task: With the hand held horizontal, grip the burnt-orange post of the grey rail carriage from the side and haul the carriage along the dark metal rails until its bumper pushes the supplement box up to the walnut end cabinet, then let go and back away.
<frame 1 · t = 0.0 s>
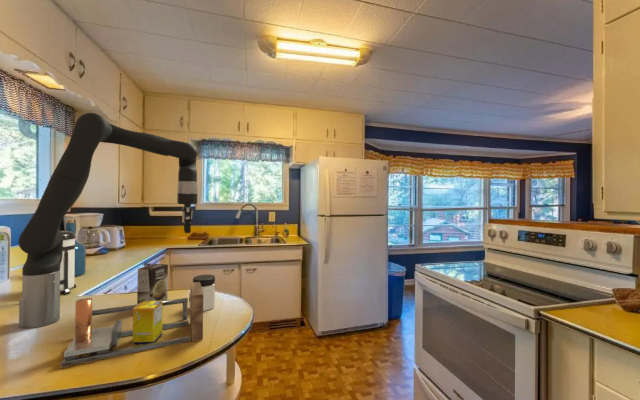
hand: (187, 231, 117), 29 cm above the counter, tool pointing down, fingers open, 8 cm apart
carriage: (96, 321, 81), point 8 cm above the counter, slide at 0.0 cm
coffee box: (152, 307, 112), on the counter
coffee press: (56, 293, 125), on the counter
jar: (203, 307, 112), on the counter
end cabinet: (196, 330, 93), on the counter
handrail: (138, 326, 95), on the counter
supplement box: (147, 340, 86), on the counter
teal bottle: (69, 275, 153), on the counter
track: (134, 342, 85), on the counter
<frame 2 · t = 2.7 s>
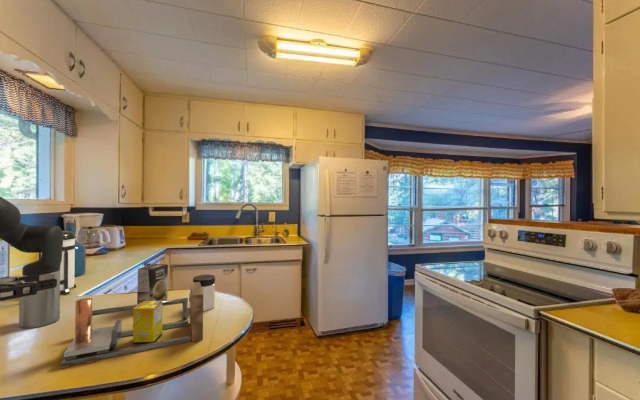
hand: (47, 280, 72), 22 cm above the counter, tool horizontal, fingers open, 8 cm apart
nothing on the counter moved.
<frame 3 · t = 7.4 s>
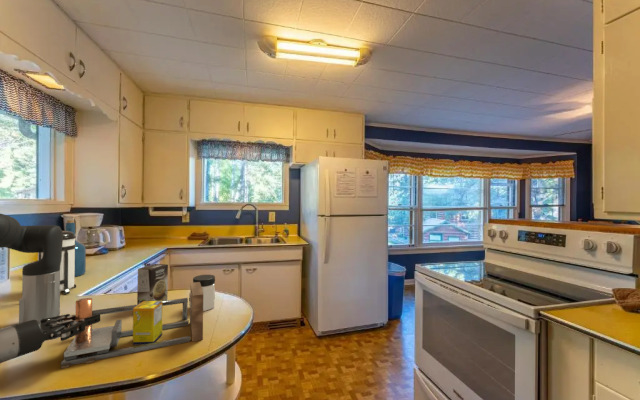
hand: (95, 316, 82), 9 cm above the counter, tool horizontal, fingers closed on carriage, 3 cm apart
carriage: (96, 321, 81), point 8 cm above the counter, slide at 0.0 cm, touching gripper
everything else where it was.
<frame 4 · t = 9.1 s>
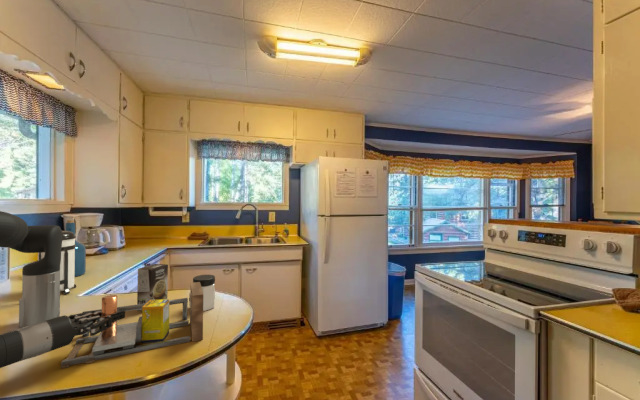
hand: (119, 312, 84), 9 cm above the counter, tool horizontal, fingers closed on carriage, 3 cm apart
carriage: (121, 317, 83), point 8 cm above the counter, slide at 5.9 cm, touching gripper, supplement box
supplement box: (155, 338, 88), on the counter, touching carriage
everything else where it was.
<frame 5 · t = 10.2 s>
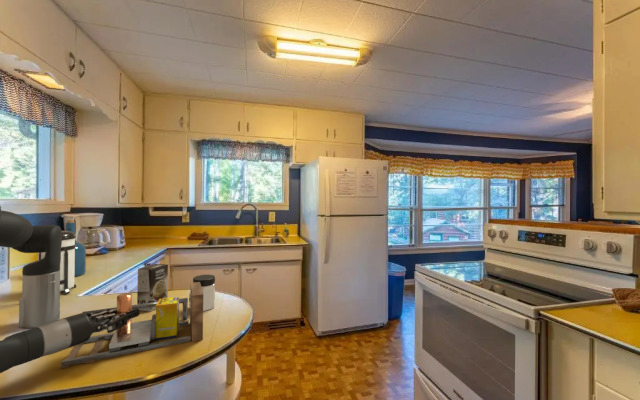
hand: (134, 310, 86), 9 cm above the counter, tool horizontal, fingers closed on carriage, 3 cm apart
carriage: (135, 315, 85), point 8 cm above the counter, slide at 9.4 cm, touching gripper
supplement box: (167, 335, 90), on the counter
everything else where it was.
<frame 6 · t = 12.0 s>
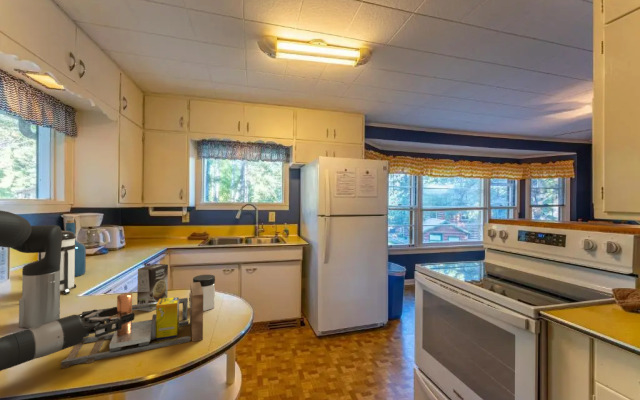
hand: (125, 312, 84), 9 cm above the counter, tool horizontal, fingers open, 8 cm apart
carriage: (135, 315, 85), point 8 cm above the counter, slide at 9.5 cm
everything else where it was.
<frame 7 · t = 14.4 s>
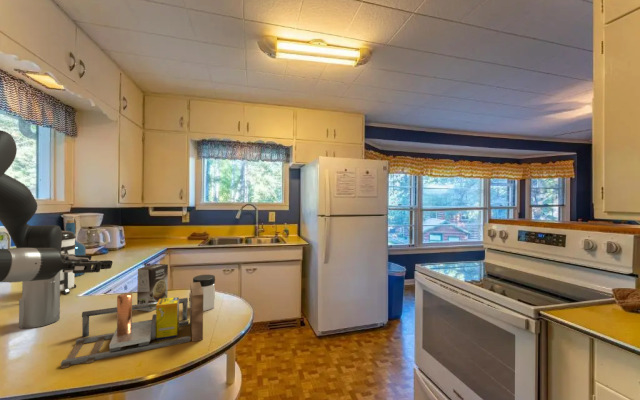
hand: (100, 261, 80), 25 cm above the counter, tool horizontal, fingers open, 8 cm apart
nothing on the counter moved.
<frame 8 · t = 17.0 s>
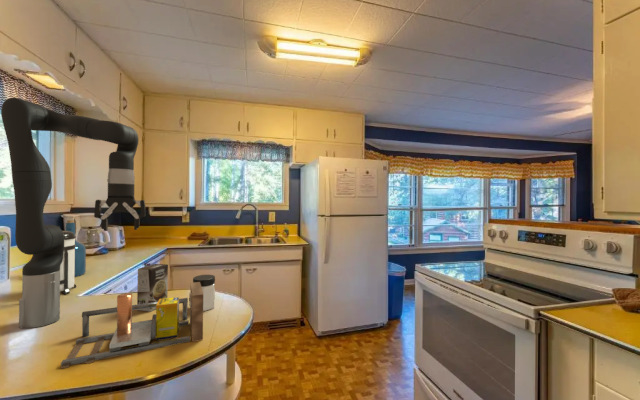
hand: (120, 230, 97), 32 cm above the counter, tool pointing down, fingers open, 8 cm apart
nothing on the counter moved.
at the end: carriage slide at 9.5 cm; supplement box inside the target area (1.7 cm from its centre), on the counter; supplement box tilted 0° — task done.
